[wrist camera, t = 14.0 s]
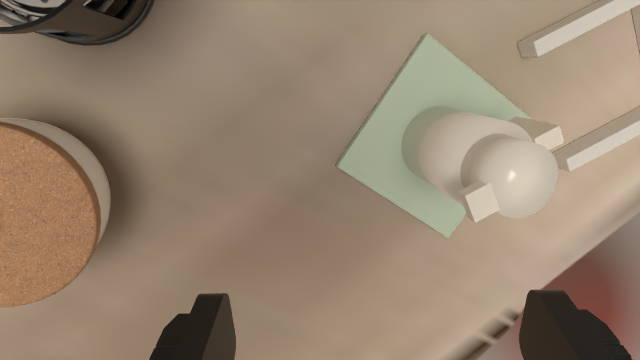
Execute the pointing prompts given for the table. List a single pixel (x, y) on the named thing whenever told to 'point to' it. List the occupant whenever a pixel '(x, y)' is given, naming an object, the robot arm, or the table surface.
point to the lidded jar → (46, 209)
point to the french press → (73, 19)
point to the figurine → (484, 160)
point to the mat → (397, 112)
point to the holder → (608, 7)
